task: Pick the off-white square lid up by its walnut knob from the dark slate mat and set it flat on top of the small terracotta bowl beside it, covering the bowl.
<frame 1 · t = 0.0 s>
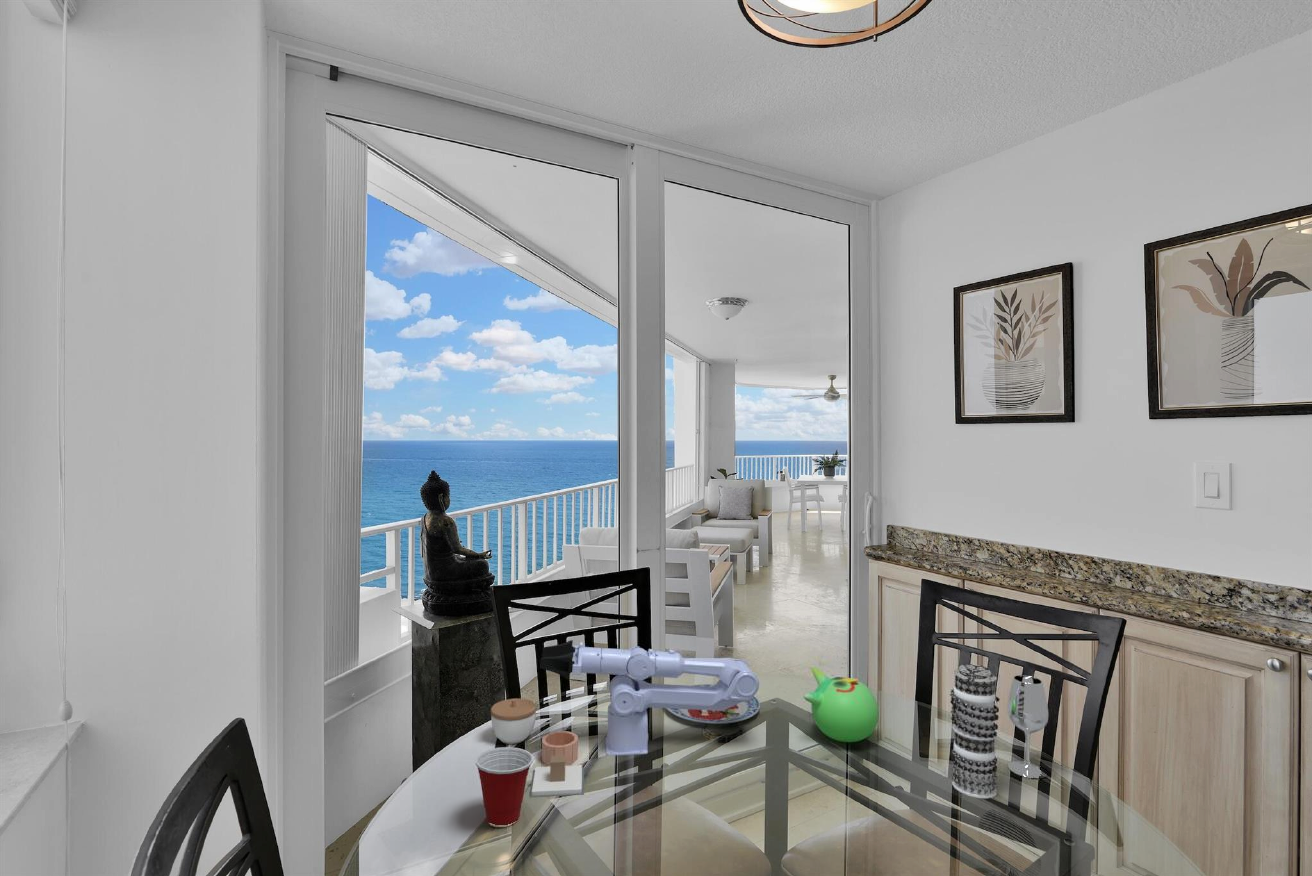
hand: (541, 657, 150), 22 cm above the table, tool horizontal, fingers open, 7 cm apart
toy bird: (841, 737, 159), on the table
plastic cup: (504, 821, 123), on the table
decorative candle: (974, 788, 136), on the table
lidded jar: (513, 739, 156), on the table
ceramic plate: (711, 710, 175), on the table
bowl: (559, 758, 147), on the table
wineglass: (1027, 771, 143), on the table
mat: (557, 783, 136), on the table
lid: (557, 781, 136), resting on mat
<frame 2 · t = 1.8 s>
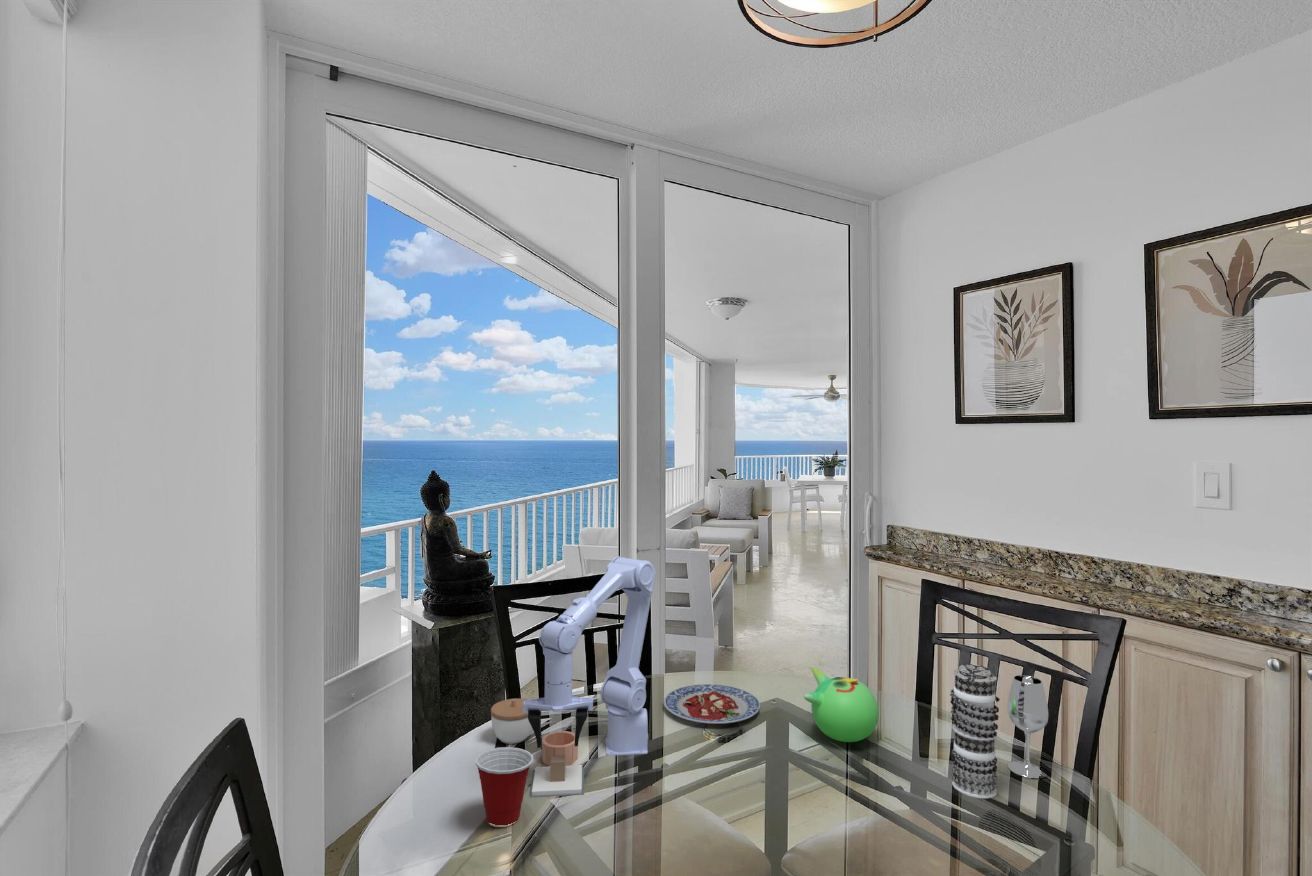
hand: (557, 744, 136), 8 cm above the table, tool pointing down, fingers open, 7 cm apart
nothing on the table moved.
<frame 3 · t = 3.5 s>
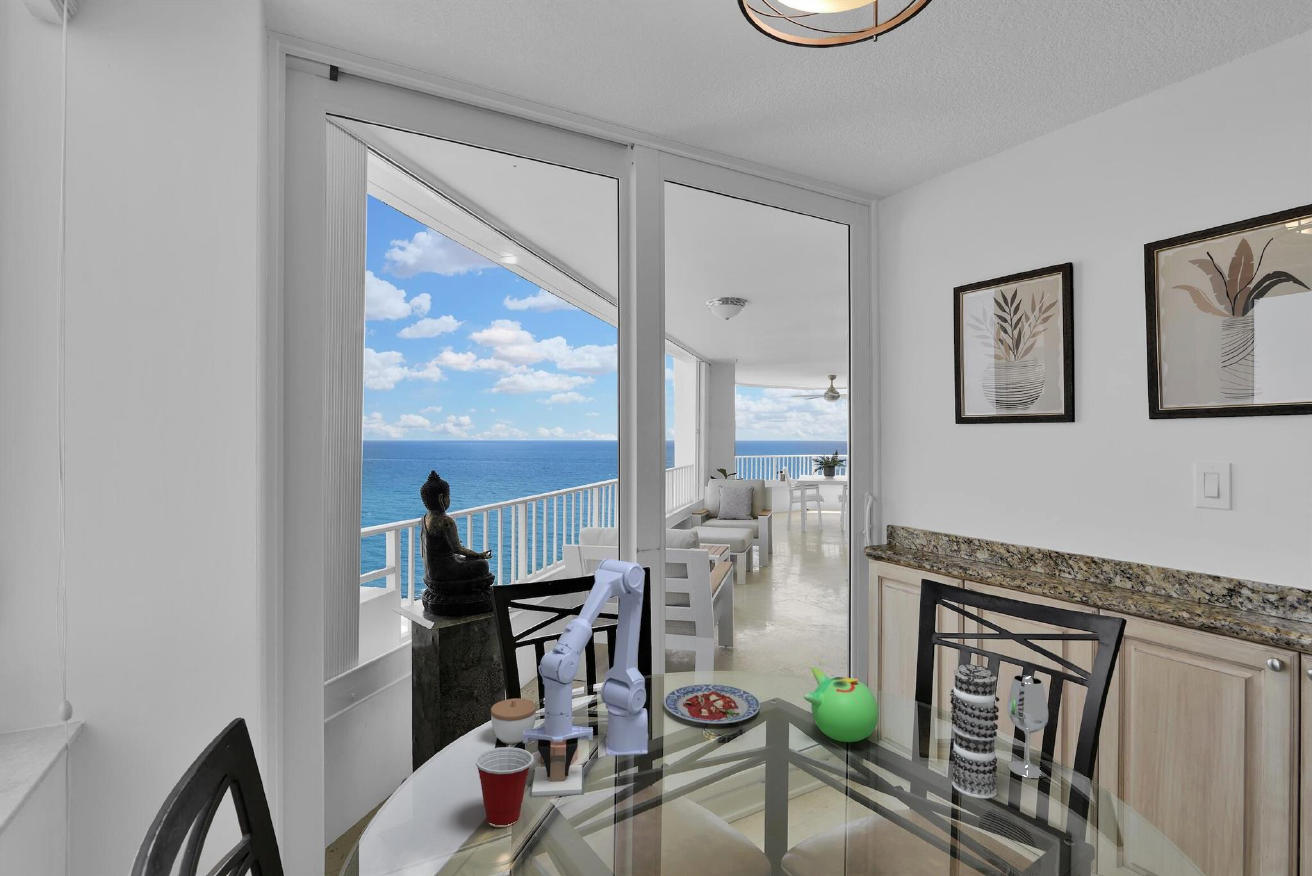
hand: (557, 774, 136), 2 cm above the table, tool pointing down, fingers closed on lid, 3 cm apart
lid: (557, 781, 136), resting on mat, touching gripper
everything else where it was.
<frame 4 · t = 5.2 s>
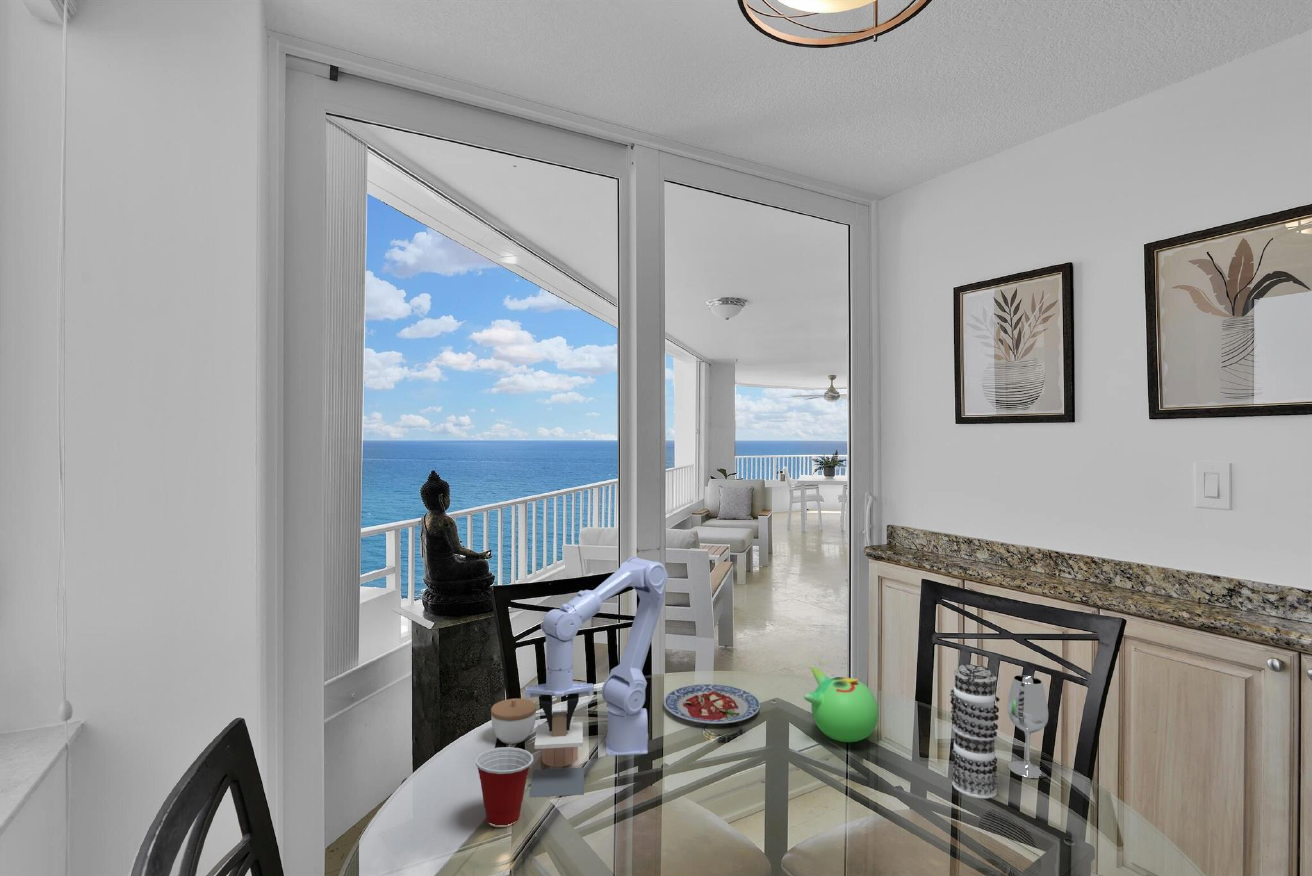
hand: (559, 729, 141), 9 cm above the table, tool pointing down, fingers closed on lid, 3 cm apart
lid: (559, 737, 141), point 8 cm above the table, touching gripper
everything else where it was.
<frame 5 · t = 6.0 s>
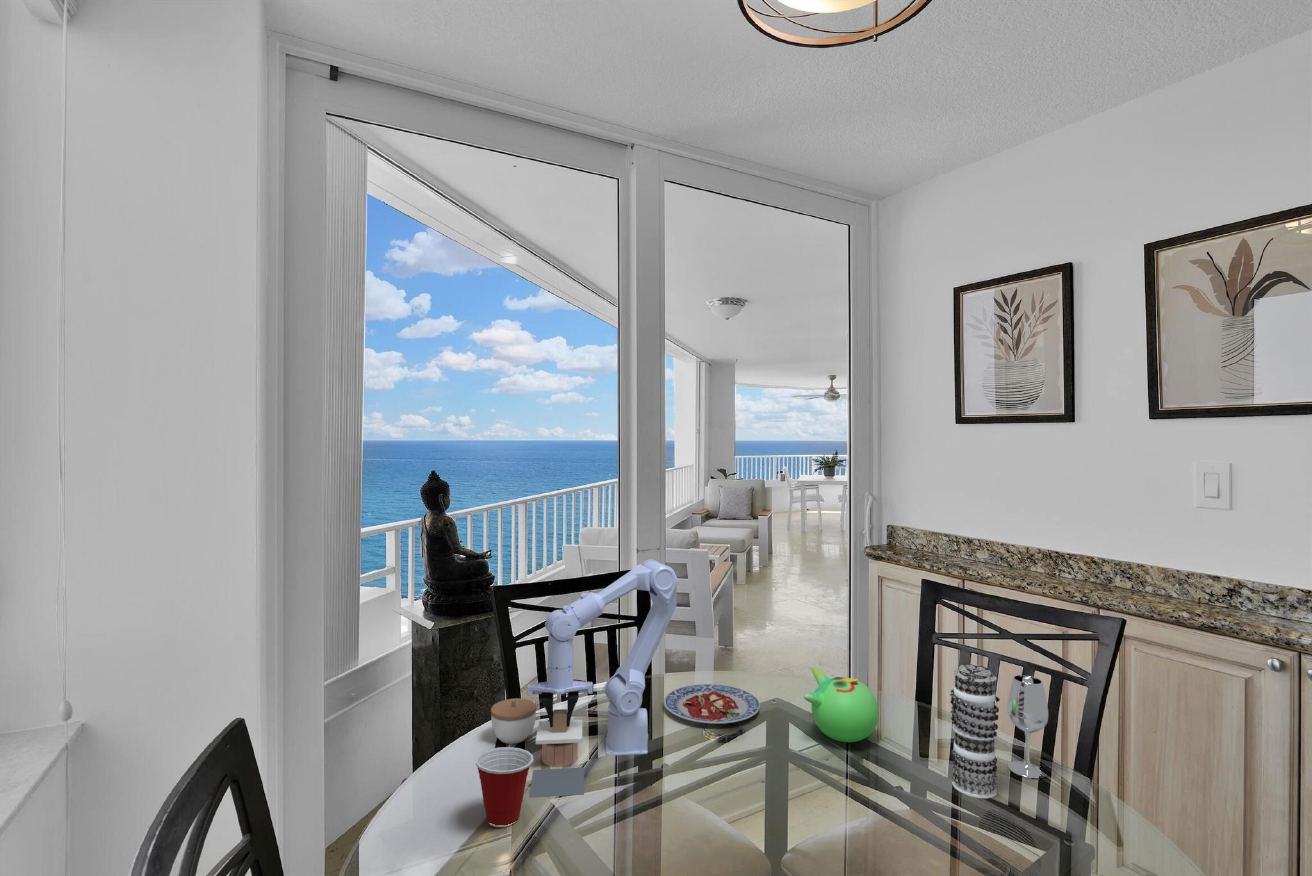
hand: (559, 725, 147), 8 cm above the table, tool pointing down, fingers closed on lid, 3 cm apart
lid: (559, 733, 147), point 6 cm above the table, touching gripper
everything else where it was.
when the fingers open (7 cm above the table, at t = 6.8 s): lid stays where it is, resting on bowl.
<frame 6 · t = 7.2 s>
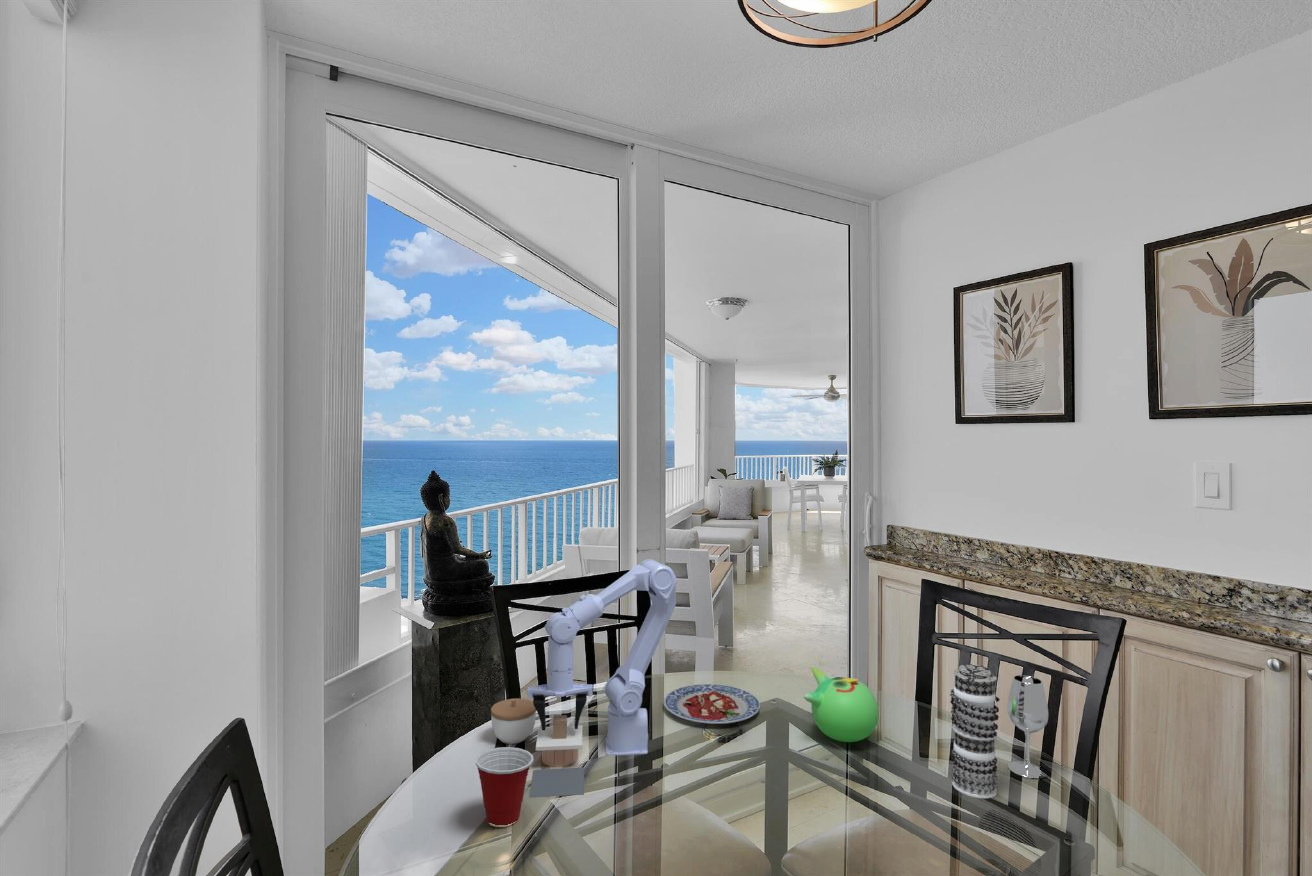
hand: (560, 727, 147), 7 cm above the table, tool pointing down, fingers open, 7 cm apart
lid: (559, 739, 147), point 4 cm above the table, touching bowl
everything else where it was.
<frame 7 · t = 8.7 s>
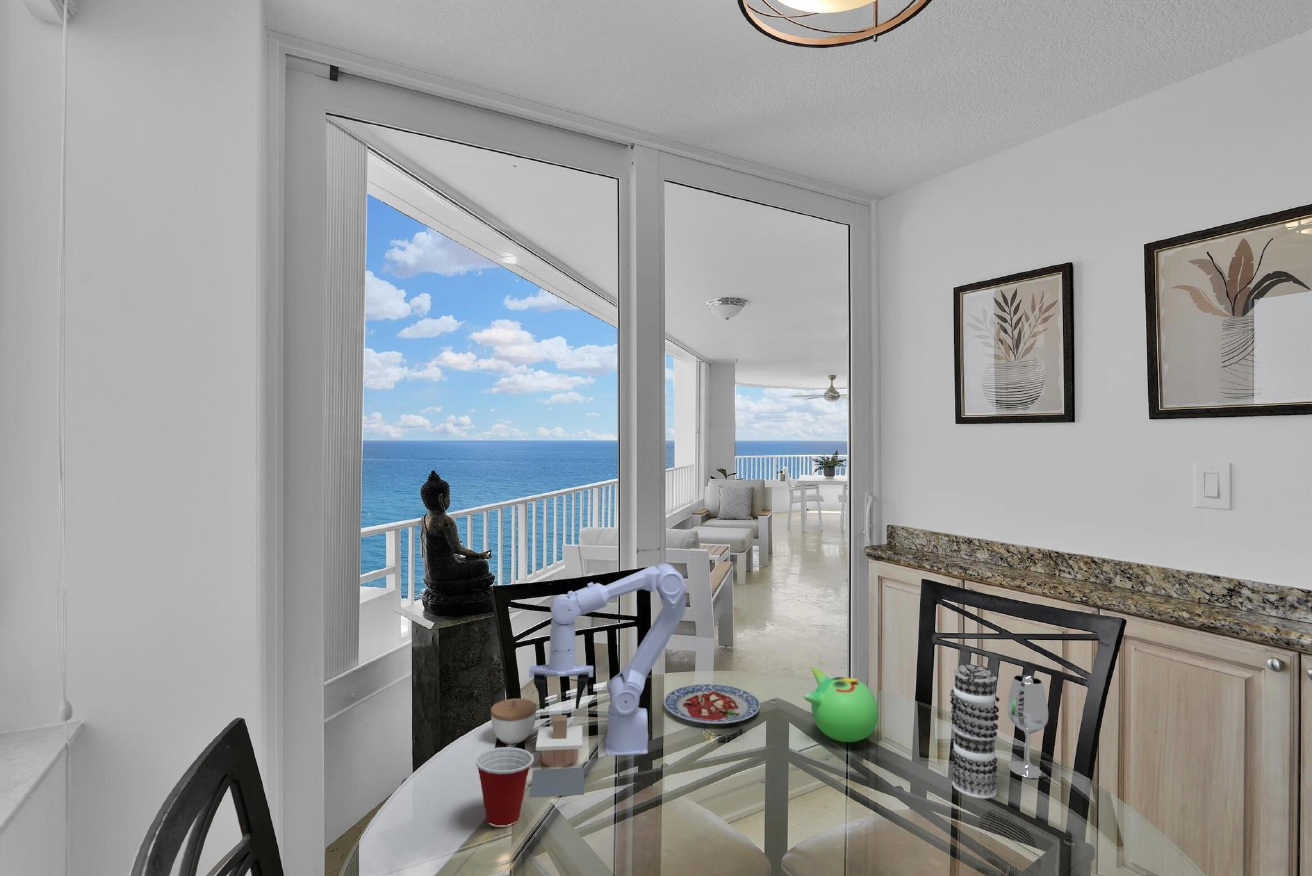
hand: (560, 707, 150), 10 cm above the table, tool pointing down, fingers open, 7 cm apart
nothing on the table moved.
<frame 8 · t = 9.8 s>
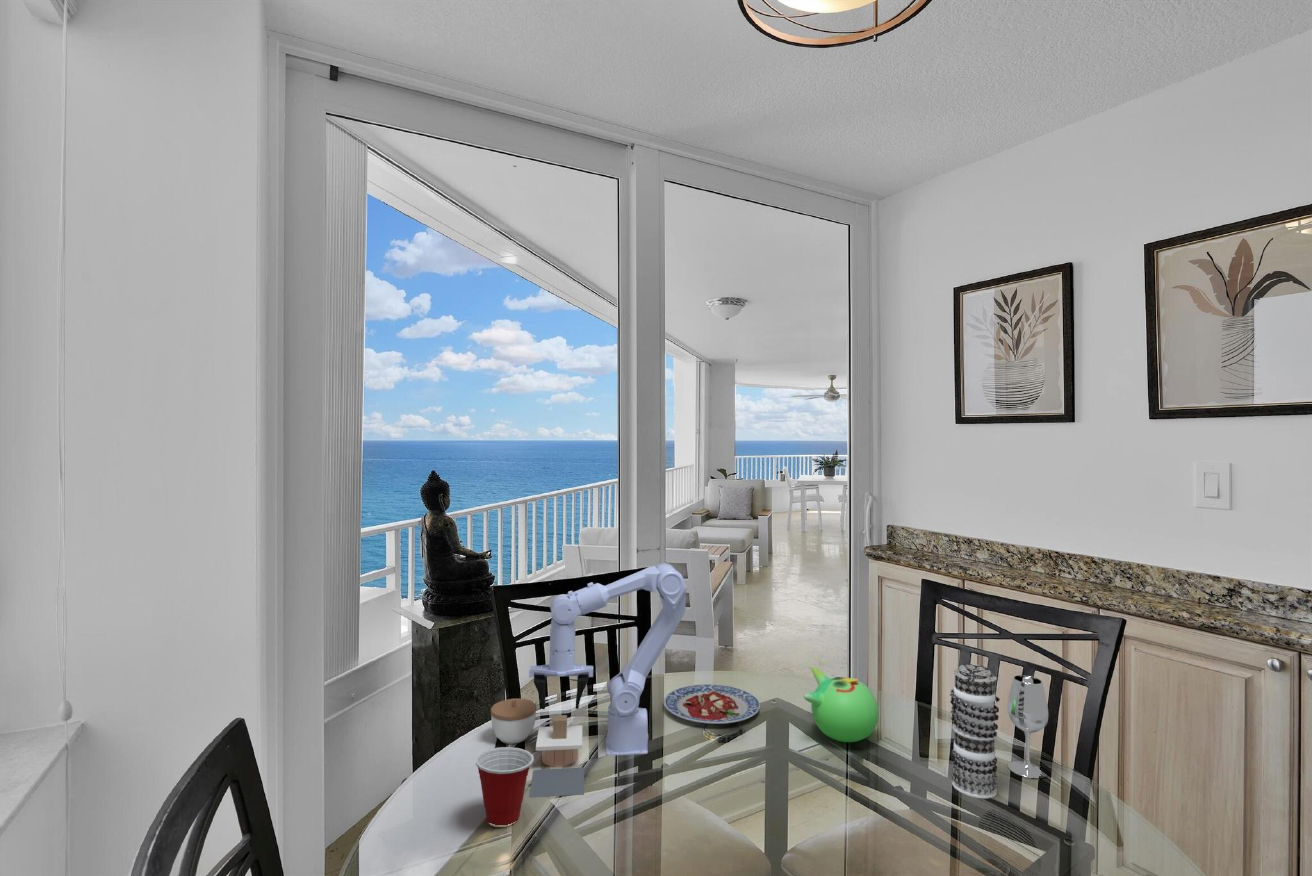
hand: (560, 707, 150), 10 cm above the table, tool pointing down, fingers open, 7 cm apart
nothing on the table moved.
at the end: lid 0.2 cm off-centre on the bowl, point 4.5 cm above the bowl's base; lid tilted 0°; the gripper is holding nothing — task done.
